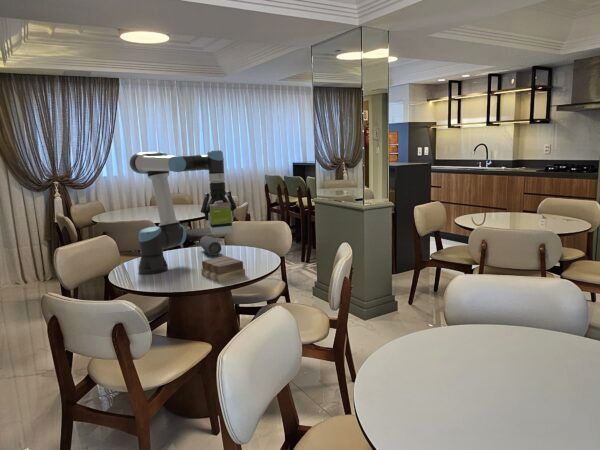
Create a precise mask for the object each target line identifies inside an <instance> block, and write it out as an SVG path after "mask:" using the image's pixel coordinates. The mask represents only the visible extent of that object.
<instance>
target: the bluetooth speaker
mask: <svg viewBox="0 0 600 450" xmlns="http://www.w3.org/2000/svg"><path fill="white" fill-rule="evenodd" d="M199 244H200V247H201V248H202V249H203V251H204V252H206V253H207V254H208V255H209V256H217V255H219V254H220V253H221V251H222V245H221V243H220V242H219V241H218V240H216V239H215V238H213V237H211V236H208V235H204V236H202V237H201V238H200V240H199Z"/></svg>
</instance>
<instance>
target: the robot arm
mask: <svg viewBox="0 0 600 450" xmlns="http://www.w3.org/2000/svg"><path fill="white" fill-rule="evenodd" d="M129 167H130V168H131V170H132V171H133V172H135V173H137V174H141V175H147V178H148V179H149V180H150V181H151V183H152V188H153V193H154V198H155V203H156V206H157V212H158V216H159V224H158V226H151V227H150V226H149V227H145V228H142V229H141V230H140V231H139V232H138V245H139V253H140V261H139V264H138V273H139V274H142V275H155V274H161V273H163V272H166V271H168V269H169V268H168V263H167V260H166V259H165V256H164V250H167V249H171V248H174V247H178V246H181V245H183V244H184V243H185V241H186V239H187V230H186V228H185V226H184V225H182V224H181V222H180V221H179V220H178V219H177V217H176V212H175V207H174V202H173V200H172V199H173V198H172V197H173V196H172V193H171V188H170V185H169V180H168V177H169V175H170V172H174V173H181V172H193V171H194V172H195V171H208V178H209V179H208V181H209V191H210V192H205V193H204V198H203V202H202V205H201V209H200V213H201V214H204V220H205V221H206V227H208V228H209V227H211V219H210V214H208V213H209V211H210V205H209V204H214V202H216V201H223V202H228V203H229V204H231V216H232V224H233V223H234V222H233V221H234V219H233V217H234V211H235V209H237V205H236V202H235V200H234V199H233V196H232V191H231V190H226V182H224V181H226V179H225V163H224V153H223V151H222V150H220V149H219V150H207V154H195V155H192V154H191V155H168V154H167V153H166V152H164V151H146V152H145V151H144V152H142V151H141V152H137V153H134V154H133V155H131V157H130V159H129ZM208 202H209V204H208ZM207 204H208V206H207Z"/></svg>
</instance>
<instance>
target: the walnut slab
mask: <svg viewBox="0 0 600 450" xmlns="http://www.w3.org/2000/svg"><path fill="white" fill-rule="evenodd" d="M201 264H202V268H203V269H205V270H208V271H211V272H213V273H216V274H218V275H220V274H224V273H229V272H233V271H237V270H241V269H244V261H243V260H240V259H237V258H234V257H229V256H227V255H225V256H220V257H213V258H210V259H206V260H201ZM202 268H201V269H202Z"/></svg>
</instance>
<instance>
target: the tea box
mask: <svg viewBox="0 0 600 450" xmlns="http://www.w3.org/2000/svg"><path fill="white" fill-rule="evenodd" d="M209 202H210V201H208V204H209ZM228 202H229V201H228ZM228 202H223V201H222V200H221V201H220V200H219V201H215V202H214V204H209V205H210V211H209V213H208V214H210V219H211V227H208V229H209V231H210V232H211V234H212V235H213V236H215V235H216V236H218V235H224V234H225V235H227V234H233V233H234V232H233V223H232V216H231V204H229V203H230V202H229V203H228ZM208 204H207V206H208Z"/></svg>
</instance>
